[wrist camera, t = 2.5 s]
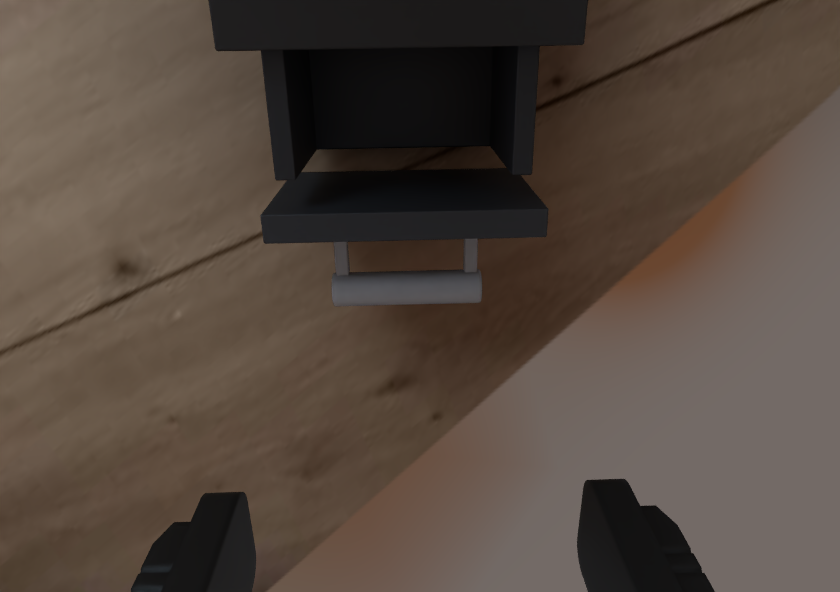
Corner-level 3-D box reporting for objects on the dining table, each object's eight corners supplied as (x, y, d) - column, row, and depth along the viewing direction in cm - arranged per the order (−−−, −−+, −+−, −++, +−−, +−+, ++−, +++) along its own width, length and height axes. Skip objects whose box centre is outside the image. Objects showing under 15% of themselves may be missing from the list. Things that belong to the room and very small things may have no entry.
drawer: (510, 267, 33) (539, 332, 26) (302, 272, 33) (275, 339, 26) (528, -117, 26) (576, -173, 19) (263, -114, 26) (211, -169, 19)
